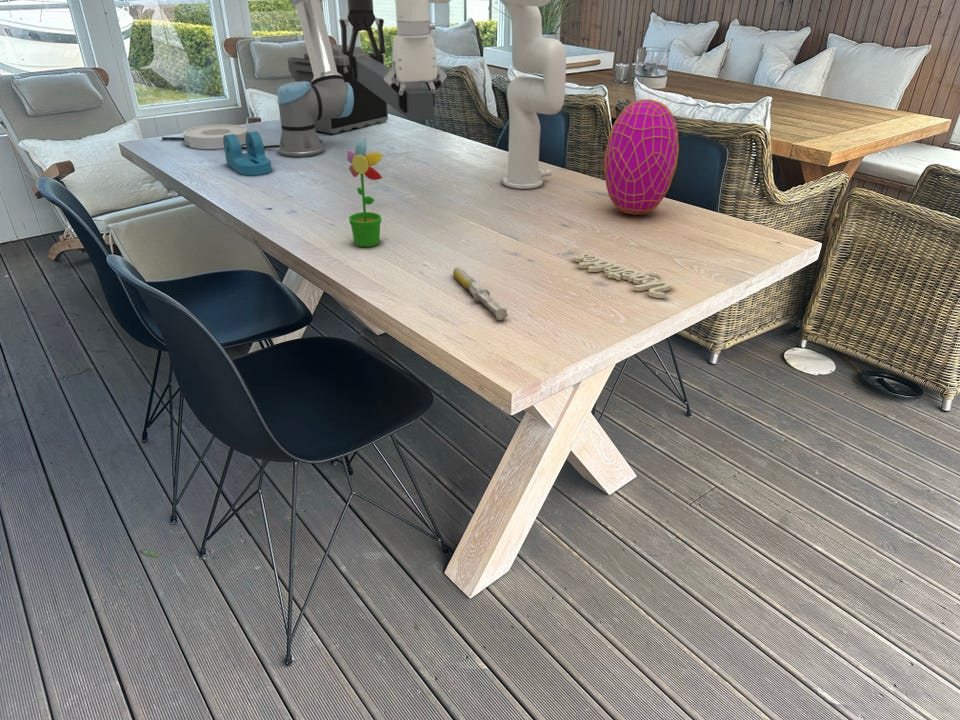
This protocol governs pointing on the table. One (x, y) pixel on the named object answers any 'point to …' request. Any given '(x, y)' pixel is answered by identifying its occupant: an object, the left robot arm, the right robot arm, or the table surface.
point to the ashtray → (213, 135)
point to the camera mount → (246, 154)
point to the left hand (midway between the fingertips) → (365, 78)
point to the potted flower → (364, 222)
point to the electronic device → (365, 101)
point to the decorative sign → (625, 274)
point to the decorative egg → (641, 156)
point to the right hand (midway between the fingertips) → (417, 109)
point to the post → (416, 95)
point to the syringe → (479, 293)
